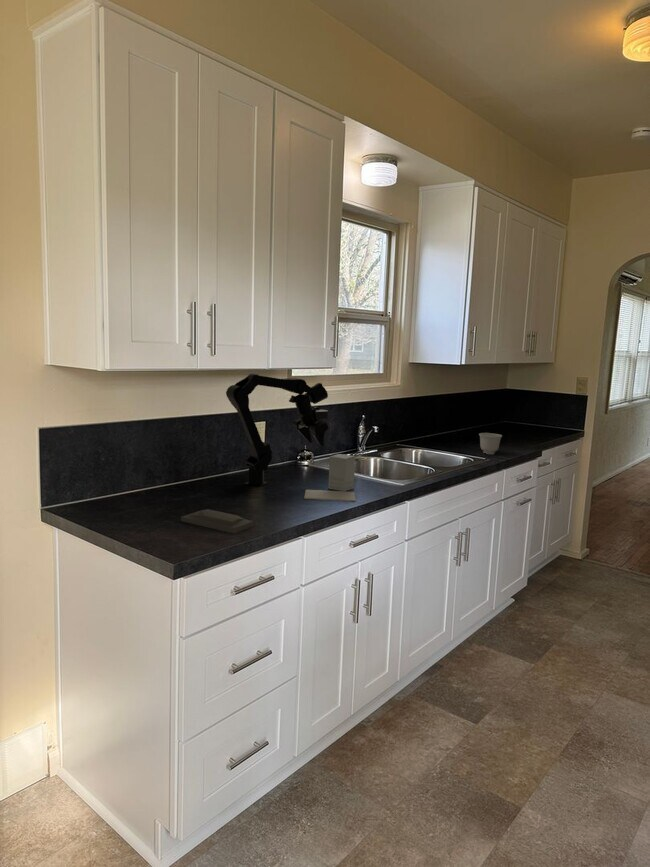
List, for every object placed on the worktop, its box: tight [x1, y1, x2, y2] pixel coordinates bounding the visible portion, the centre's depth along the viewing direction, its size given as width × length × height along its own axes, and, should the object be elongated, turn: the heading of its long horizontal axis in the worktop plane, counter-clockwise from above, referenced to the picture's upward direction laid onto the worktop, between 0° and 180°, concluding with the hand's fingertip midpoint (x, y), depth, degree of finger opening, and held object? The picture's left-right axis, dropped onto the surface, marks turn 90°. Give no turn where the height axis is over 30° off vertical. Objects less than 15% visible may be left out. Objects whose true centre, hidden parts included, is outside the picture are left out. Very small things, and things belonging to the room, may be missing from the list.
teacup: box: [478, 432, 503, 455], centre depth 343 cm, size 12×15×10 cm
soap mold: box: [180, 508, 255, 534], centre depth 196 cm, size 10×20×4 cm, turn 60°
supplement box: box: [328, 453, 356, 492], centre depth 247 cm, size 7×7×13 cm
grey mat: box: [303, 489, 356, 502], centre depth 235 cm, size 18×12×1 cm, turn 89°
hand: (316, 444), depth 260 cm, fingers open, 9 cm apart
